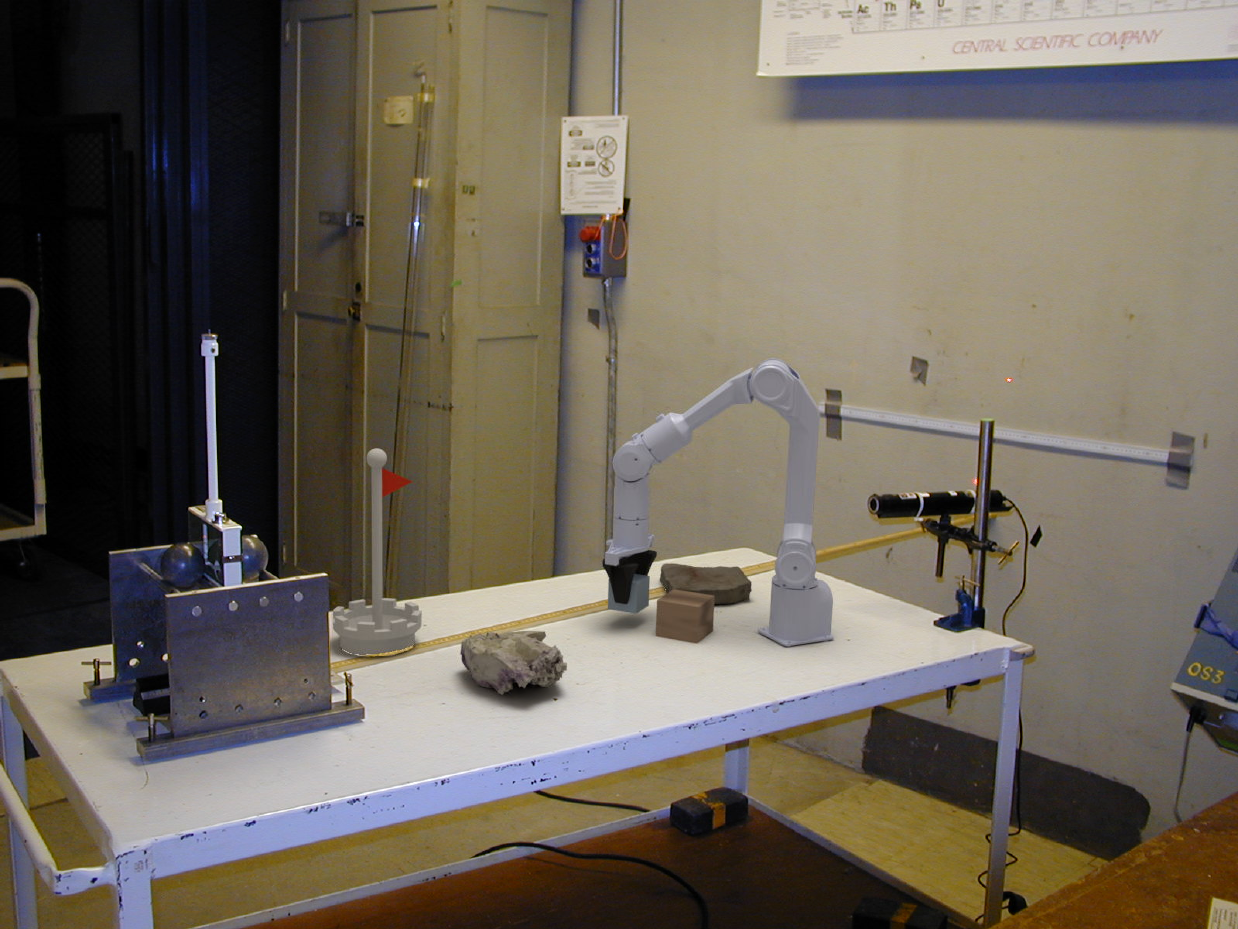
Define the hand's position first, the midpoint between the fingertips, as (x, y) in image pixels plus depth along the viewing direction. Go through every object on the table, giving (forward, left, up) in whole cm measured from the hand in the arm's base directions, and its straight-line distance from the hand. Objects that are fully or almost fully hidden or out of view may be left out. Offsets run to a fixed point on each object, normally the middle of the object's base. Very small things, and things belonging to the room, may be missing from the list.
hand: (628, 598), depth 193 cm
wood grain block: (-6, +8, -4) cm, 11 cm away
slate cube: (0, 0, -2) cm, 2 cm away
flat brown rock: (-21, -10, -5) cm, 24 cm away
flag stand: (+40, -5, -4) cm, 41 cm away
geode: (+27, +18, -5) cm, 33 cm away
